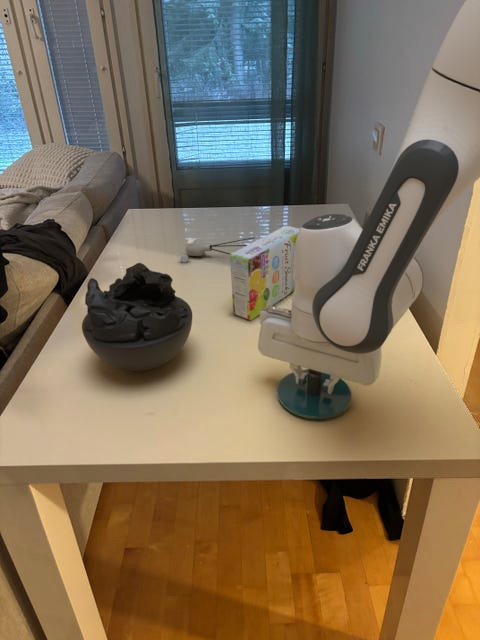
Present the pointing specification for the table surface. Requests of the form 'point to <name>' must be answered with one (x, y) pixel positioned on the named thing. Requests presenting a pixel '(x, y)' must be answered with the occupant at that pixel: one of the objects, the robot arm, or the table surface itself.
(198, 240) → the reed diffuser
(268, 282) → the snack box
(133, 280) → the bowl of black rocks
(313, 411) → the lid
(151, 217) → the table surface
